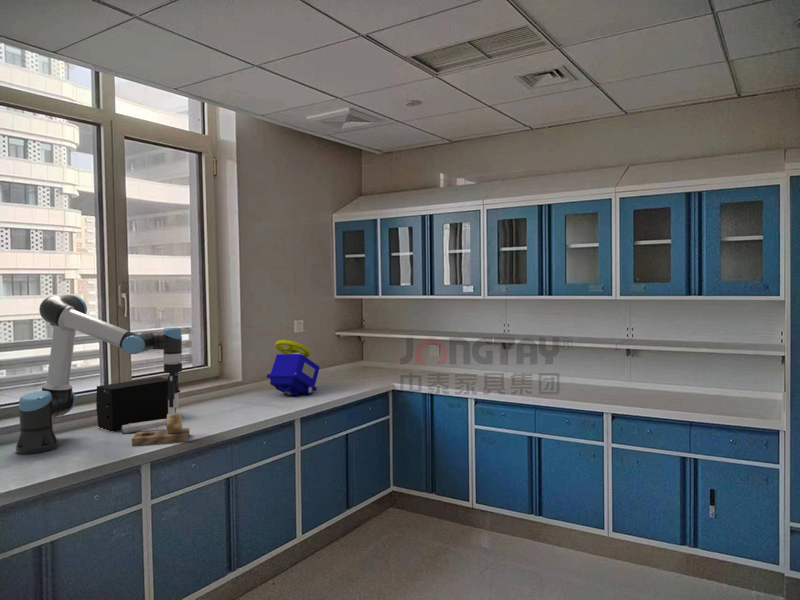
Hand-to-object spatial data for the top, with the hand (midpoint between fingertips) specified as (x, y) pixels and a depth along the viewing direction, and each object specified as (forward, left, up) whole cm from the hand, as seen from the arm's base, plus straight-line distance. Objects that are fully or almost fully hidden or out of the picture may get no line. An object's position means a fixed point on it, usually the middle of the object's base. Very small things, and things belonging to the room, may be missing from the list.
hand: (173, 411), depth 260 cm
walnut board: (-5, 0, -13) cm, 14 cm away
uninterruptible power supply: (-22, +37, -13) cm, 45 cm away
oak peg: (0, 0, -13) cm, 13 cm away
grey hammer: (-12, +19, -13) cm, 26 cm away
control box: (+58, +90, -13) cm, 108 cm away
